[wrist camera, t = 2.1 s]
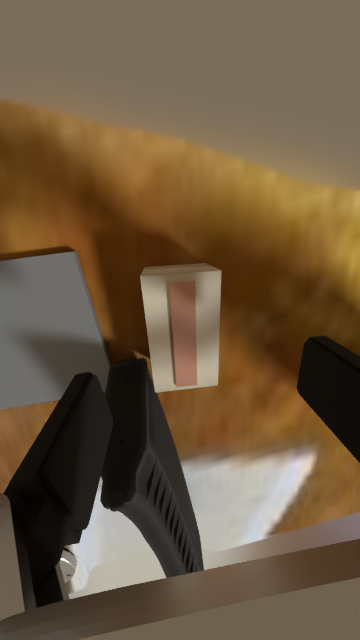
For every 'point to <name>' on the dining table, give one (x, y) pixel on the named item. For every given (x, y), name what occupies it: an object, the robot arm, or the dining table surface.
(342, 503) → the dining table surface
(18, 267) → the mat
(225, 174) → the dining table surface
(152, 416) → the magazine
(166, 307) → the card box
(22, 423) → the dining table surface
